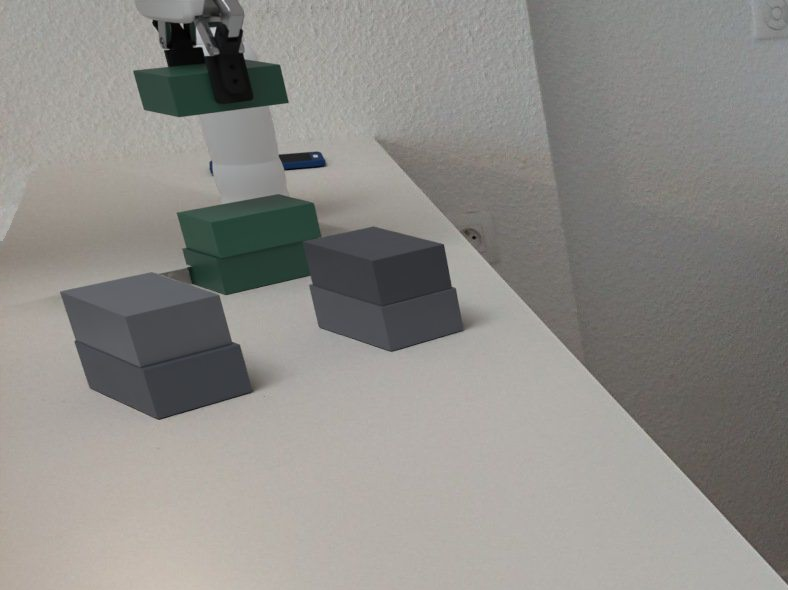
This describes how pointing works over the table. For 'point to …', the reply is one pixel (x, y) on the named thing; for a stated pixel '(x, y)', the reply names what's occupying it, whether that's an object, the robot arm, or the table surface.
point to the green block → (205, 89)
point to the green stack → (248, 242)
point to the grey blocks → (210, 330)
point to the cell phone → (297, 160)
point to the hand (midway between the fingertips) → (214, 96)
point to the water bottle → (243, 148)
